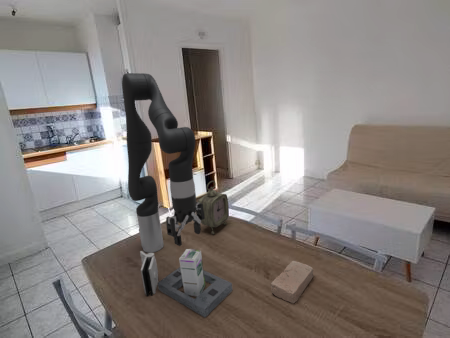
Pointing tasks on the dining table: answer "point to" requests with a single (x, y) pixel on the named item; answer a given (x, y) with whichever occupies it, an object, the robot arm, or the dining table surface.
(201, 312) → the rail plate
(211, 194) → the tabletop clock
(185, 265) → the syrup box
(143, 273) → the hinge
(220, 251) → the dining table surface
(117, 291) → the dining table surface
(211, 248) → the dining table surface
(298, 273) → the brick
